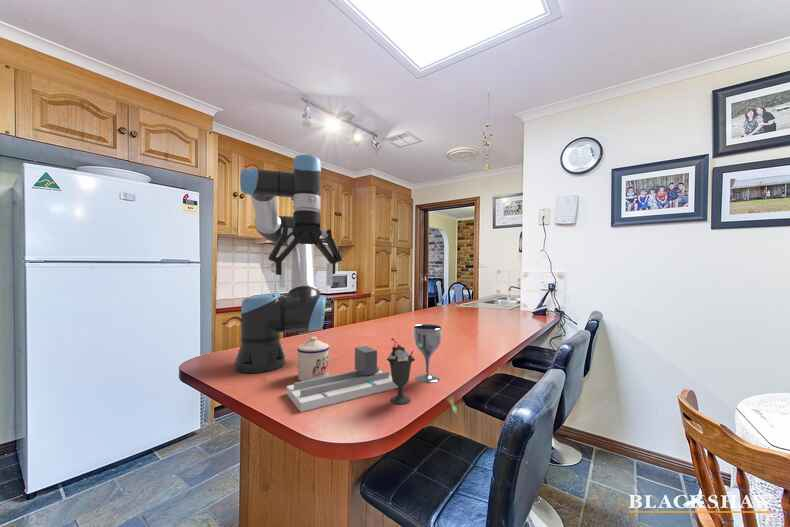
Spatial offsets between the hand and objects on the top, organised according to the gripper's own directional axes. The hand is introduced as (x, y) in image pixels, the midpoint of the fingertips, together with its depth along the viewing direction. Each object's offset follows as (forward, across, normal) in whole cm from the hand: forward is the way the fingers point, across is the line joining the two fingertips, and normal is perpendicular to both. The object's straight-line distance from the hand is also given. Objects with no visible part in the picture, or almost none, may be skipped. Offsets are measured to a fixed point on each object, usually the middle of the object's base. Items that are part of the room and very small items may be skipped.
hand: (306, 286), depth 90 cm
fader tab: (+24, +12, -12) cm, 30 cm away
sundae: (+27, +15, -25) cm, 40 cm away
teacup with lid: (+27, +4, +3) cm, 27 cm away
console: (+27, +6, -12) cm, 30 cm away
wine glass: (+27, +30, -17) cm, 44 cm away
